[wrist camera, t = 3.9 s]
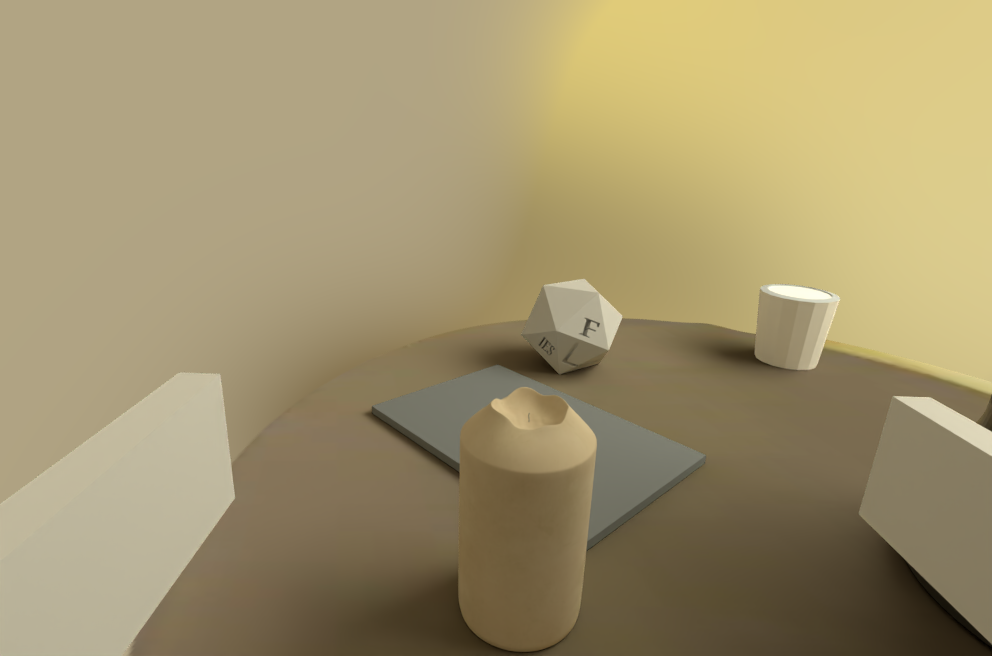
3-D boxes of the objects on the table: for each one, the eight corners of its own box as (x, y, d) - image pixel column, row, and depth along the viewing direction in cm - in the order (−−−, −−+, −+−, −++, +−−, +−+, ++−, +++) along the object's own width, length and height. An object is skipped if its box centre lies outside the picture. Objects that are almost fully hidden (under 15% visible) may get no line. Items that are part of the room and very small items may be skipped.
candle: (458, 656, 22) (460, 438, 19) (458, 559, 27) (460, 374, 24) (592, 652, 23) (617, 436, 19) (567, 556, 28) (583, 374, 25)
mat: (704, 463, 37) (706, 455, 36) (581, 554, 28) (582, 544, 28) (497, 370, 50) (497, 364, 50) (372, 413, 42) (372, 405, 42)
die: (506, 375, 51) (553, 312, 44) (515, 308, 57) (558, 243, 50) (584, 402, 53) (642, 346, 46) (586, 335, 58) (637, 276, 51)
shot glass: (745, 363, 54) (758, 294, 52) (750, 342, 60) (762, 279, 57) (825, 378, 51) (843, 305, 49) (822, 355, 57) (838, 289, 55)
